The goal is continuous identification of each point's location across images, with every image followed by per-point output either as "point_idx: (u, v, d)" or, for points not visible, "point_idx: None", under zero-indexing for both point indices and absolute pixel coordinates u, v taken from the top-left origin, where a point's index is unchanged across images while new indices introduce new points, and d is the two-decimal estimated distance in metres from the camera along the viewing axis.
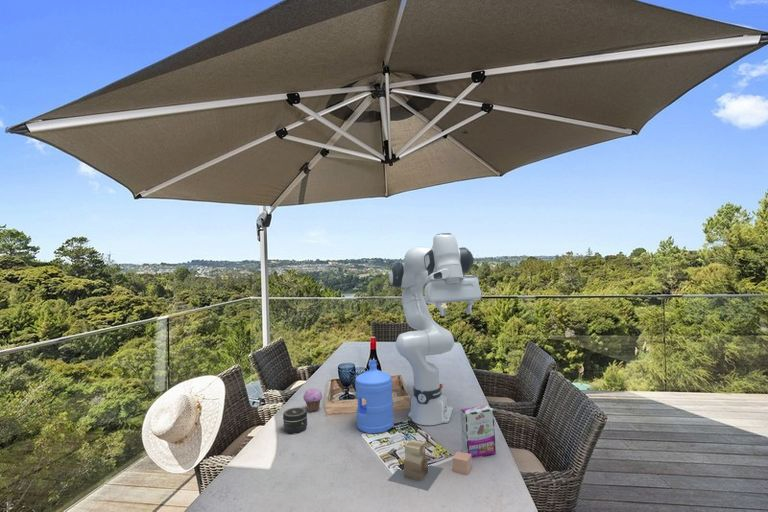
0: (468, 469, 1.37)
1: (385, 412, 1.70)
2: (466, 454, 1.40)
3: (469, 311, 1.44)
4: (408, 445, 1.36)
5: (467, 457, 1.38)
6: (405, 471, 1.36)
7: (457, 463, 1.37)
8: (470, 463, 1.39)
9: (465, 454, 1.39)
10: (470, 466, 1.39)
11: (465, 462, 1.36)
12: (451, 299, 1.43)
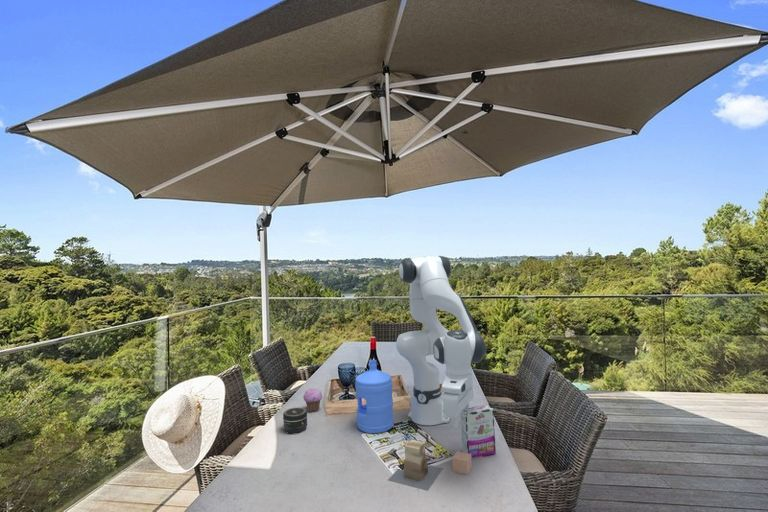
0: (468, 469, 1.37)
1: (385, 412, 1.70)
2: (466, 454, 1.40)
3: (466, 414, 1.42)
4: (408, 445, 1.36)
5: (467, 457, 1.38)
6: (405, 471, 1.36)
7: (457, 463, 1.37)
8: (470, 463, 1.39)
9: (465, 455, 1.39)
10: (470, 466, 1.39)
11: (465, 462, 1.36)
12: (463, 408, 1.36)
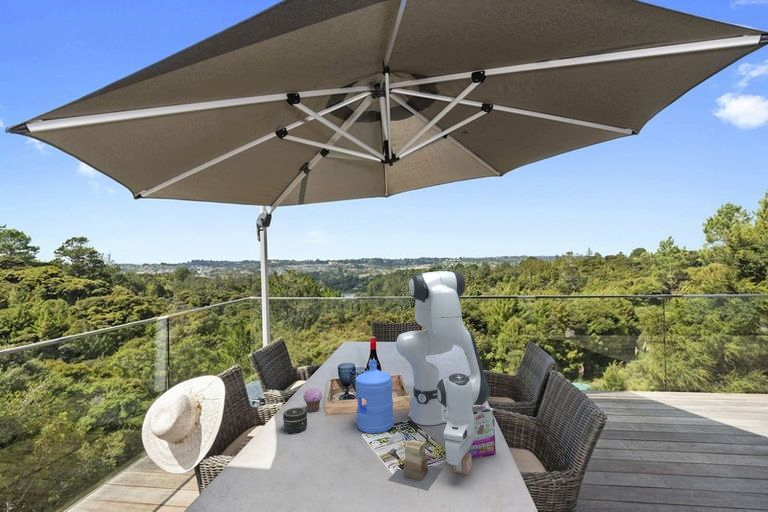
0: (468, 469, 1.37)
1: (385, 412, 1.70)
2: (466, 454, 1.40)
3: None
4: (408, 445, 1.36)
5: (467, 457, 1.38)
6: (405, 471, 1.36)
7: None
8: (470, 462, 1.39)
9: (465, 454, 1.39)
10: (470, 466, 1.39)
11: (465, 462, 1.36)
12: (465, 453, 1.37)
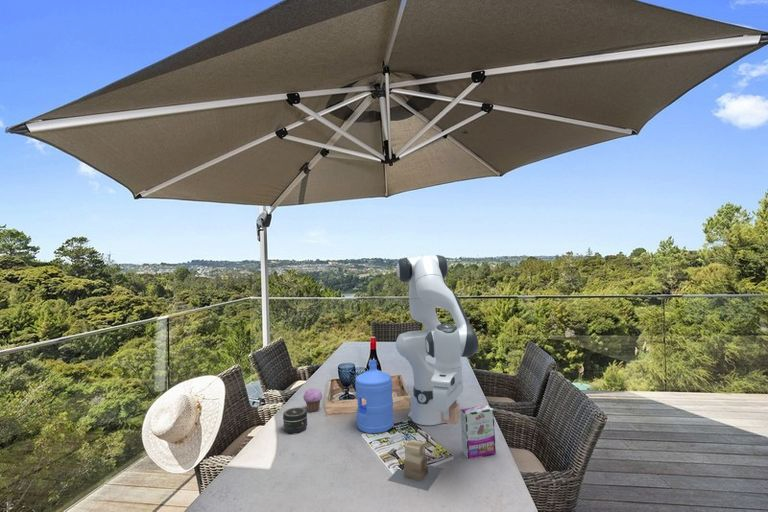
0: (456, 418, 1.36)
1: (385, 412, 1.70)
2: (454, 404, 1.39)
3: None
4: (408, 445, 1.36)
5: (456, 406, 1.37)
6: (405, 471, 1.36)
7: None
8: (458, 412, 1.38)
9: (453, 404, 1.39)
10: (458, 415, 1.38)
11: (453, 410, 1.35)
12: (452, 402, 1.36)
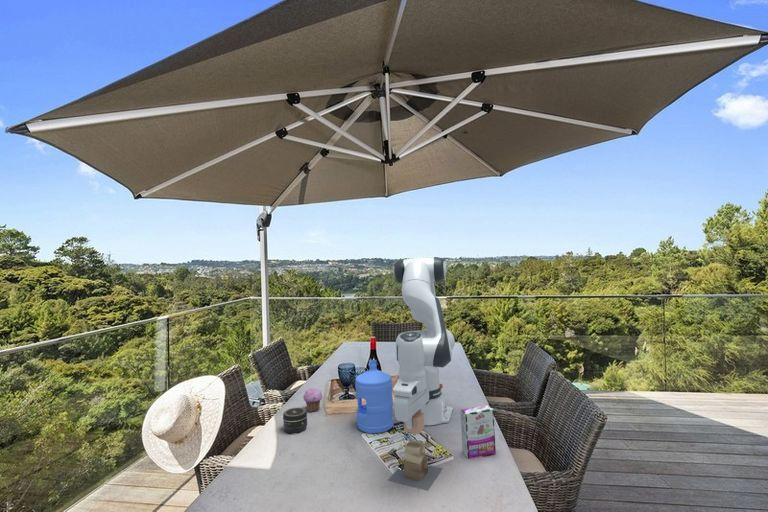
0: (419, 427, 1.34)
1: (385, 412, 1.70)
2: (418, 413, 1.38)
3: None
4: (408, 445, 1.36)
5: (419, 415, 1.35)
6: (405, 471, 1.36)
7: None
8: (422, 421, 1.37)
9: (417, 413, 1.37)
10: (422, 425, 1.36)
11: (416, 420, 1.33)
12: (416, 411, 1.34)
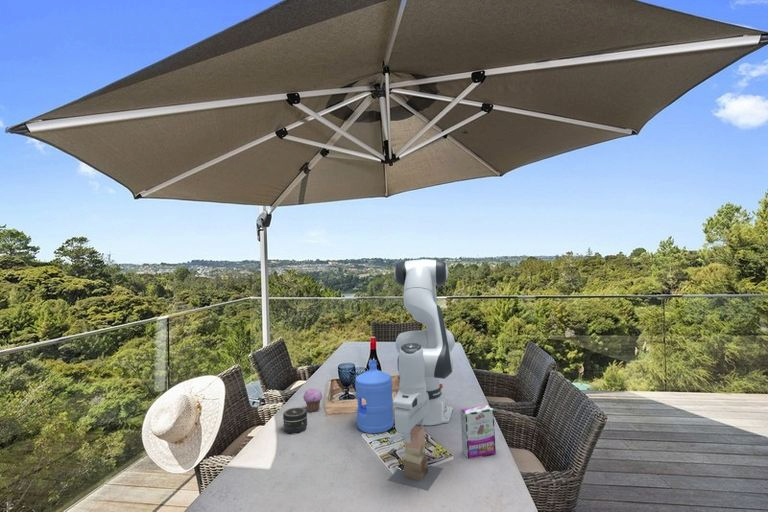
0: (420, 442, 1.35)
1: (385, 412, 1.70)
2: (419, 427, 1.38)
3: None
4: None
5: (420, 430, 1.36)
6: (405, 471, 1.36)
7: None
8: (423, 436, 1.37)
9: (417, 428, 1.37)
10: (422, 439, 1.37)
11: (416, 435, 1.34)
12: (416, 423, 1.35)
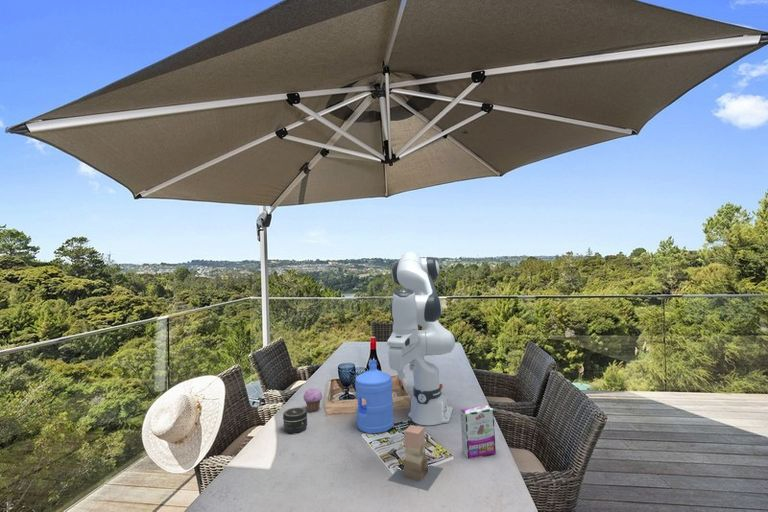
0: (420, 442, 1.35)
1: (385, 412, 1.70)
2: (419, 427, 1.38)
3: (414, 368, 1.50)
4: None
5: (420, 430, 1.36)
6: (405, 471, 1.36)
7: (409, 436, 1.35)
8: (423, 436, 1.37)
9: (417, 428, 1.37)
10: (422, 439, 1.37)
11: (416, 435, 1.34)
12: (409, 362, 1.44)
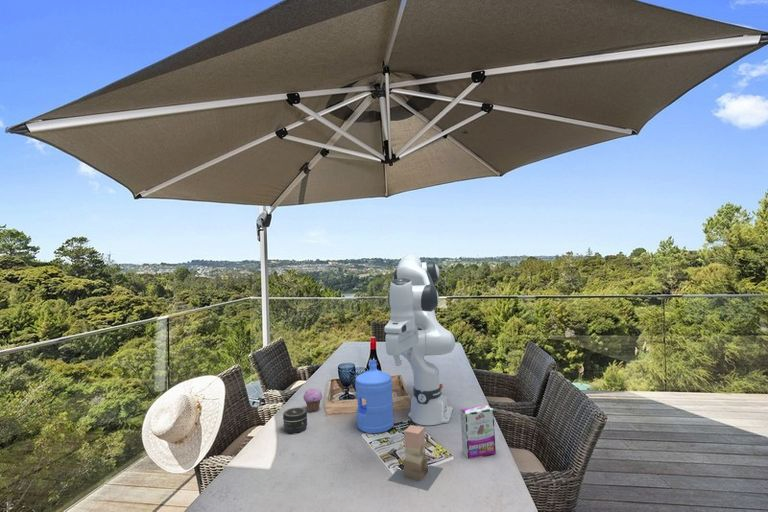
0: (420, 442, 1.35)
1: (385, 412, 1.70)
2: (419, 427, 1.38)
3: (411, 356, 1.53)
4: None
5: (420, 430, 1.36)
6: (405, 471, 1.36)
7: (409, 436, 1.35)
8: (423, 436, 1.37)
9: (417, 428, 1.37)
10: (422, 439, 1.37)
11: (416, 435, 1.34)
12: (406, 349, 1.47)
